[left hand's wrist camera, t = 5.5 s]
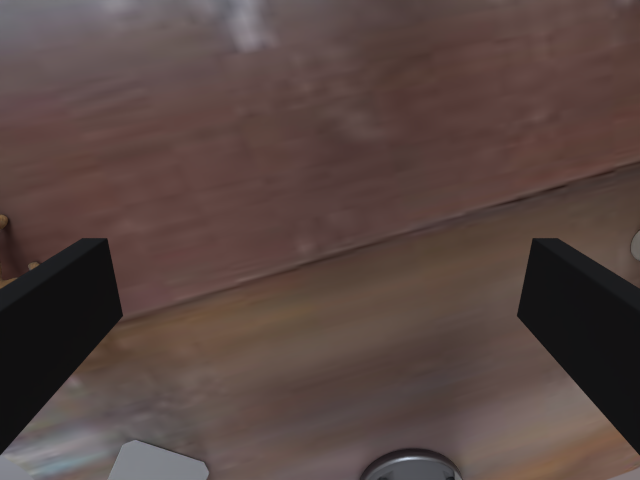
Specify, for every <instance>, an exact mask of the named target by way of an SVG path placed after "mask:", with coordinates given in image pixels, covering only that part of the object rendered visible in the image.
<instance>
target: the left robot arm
mask: <svg viewBox="0 0 640 480" xmlns="http://www.w3.org/2000/svg"><path fill="white" fill-rule="evenodd" d="M122 316H123V313H122V308H121V304H120V299H119V294H118V289H117V284H116V279H115V274H114V269H113V264H112V259H111V254H110V250H109V245H108V240H107V238H82V239H80V240H79V241H77V242H76V243H74V244H72V245H71V246H69V247H67V248H66V249H64V250H63V251H61V252H59V253H58V254H56V255H54V256H53V257H51V258H50V259H48V260H46V261H45V262H43V263H41V264H40V265H38V266H37V267H35V268H33V269H32V270H30V271H28V272H27V273H25V274H24V275H22V276H20V277H19V278H17V279H15V280H14V281H12V282H11V283H9V284H7V285H6V286H4V287H2V288H1V289H0V455H1V454H2V453H3V452H4V450H5V449H6V448H7V447H8V446H9V445H10V444H11V443H12V441H13V440H14V439H15V438H16V437H17V436H18V435H19V433H20V432H21V431H22V430H23V429H24V428H25V427H26V425H27V424H28V423H29V422H30V421H31V420H32V419H33V418H34V416H35V415H36V414H37V413H38V412H39V411H40V410H41V408H42V407H43V406H44V405H45V404H46V403H47V402H48V401H49V399H50V398H51V397H52V396H53V395H54V394H55V393H56V391H57V390H58V389H59V388H60V387H61V386H62V385H63V383H64V382H65V381H66V380H67V379H68V378H69V377H70V376H71V374H72V373H73V372H74V371H75V370H76V369H77V368H78V366H79V365H80V364H81V363H82V362H83V361H84V360H85V359H86V357H87V356H88V355H89V354H90V353H91V352H92V351H93V349H94V348H95V347H96V346H97V345H98V344H99V343H100V341H101V340H102V339H103V338H104V337H105V336H106V335H107V334H108V332H109V331H110V330H111V329H112V328H113V327H114V326H115V324H116V323H117V322H118V321H119V320H120V319H121V318H122ZM517 316H518V318H519V319H520V320H521V321H522V322H523V323H524V324H525V326H526V327H527V328H528V329H529V330H530V331H531V332H532V334H533V335H534V336H535V337H536V338H537V339H538V340H539V341H540V343H541V344H542V345H543V346H544V347H545V348H546V349H547V351H548V352H549V353H550V354H551V355H552V356H553V357H554V359H555V360H556V361H557V362H558V363H559V364H560V365H561V366H562V368H563V369H564V370H565V371H566V372H567V373H568V374H569V376H570V377H571V378H572V379H573V380H574V381H575V382H576V383H577V385H578V386H579V387H580V388H581V389H582V390H583V391H584V393H585V394H586V395H587V396H588V397H589V398H590V399H591V401H592V402H593V403H594V404H595V405H596V406H597V407H598V408H599V410H600V411H601V412H602V413H603V414H604V415H605V416H606V418H607V419H608V420H609V421H610V422H611V423H612V424H613V426H614V427H615V428H616V429H617V430H618V431H619V432H620V433H621V435H622V436H623V437H624V438H625V439H626V440H627V441H628V443H629V444H630V445H631V446H632V447H633V448H634V449H635V450H636V452H637V453H638V454H639V455H640V289H639V288H638V287H636V286H634V285H633V284H631V283H629V282H628V281H626V280H625V279H623V278H621V277H620V276H618V275H616V274H615V273H613V272H612V271H610V270H608V269H607V268H605V267H603V266H602V265H600V264H599V263H597V262H595V261H594V260H592V259H590V258H589V257H587V256H586V255H584V254H582V253H581V252H579V251H577V250H576V249H574V248H573V247H571V246H569V245H568V244H566V243H564V242H563V241H561V240H560V239H558V238H533V240H532V245H531V250H530V254H529V259H528V264H527V269H526V274H525V279H524V284H523V289H522V294H521V299H520V304H519V308H518V313H517ZM360 480H462V477H461V474H460V472H459V470H458V468H457V467H456V466H455V464H454V463H453V462H452V461H451V460H449V459H448V458H446V457H445V456H443V455H441V454H439V453H436V452H433V451H429V450H423V449H406V450H400V451H395V452H392V453H389V454H387V455H384V456H382V457H380V458H379V459H377V460H376V461H374V462H373V463H372V464H371V465H370V466H368V468H367V469H366V470H365V471H364V473H363V474H362V476H361V478H360Z"/></svg>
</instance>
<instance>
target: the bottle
mask: <svg viewBox="0 0 640 480" xmlns="http://www.w3.org/2000/svg"><path fill="white" fill-rule="evenodd" d="M631 253H632V255H633V256H634V258H636V259H637V260H639V261H640V230H639V231H638V232H637V234H636V235H635V236H634V238H633V240H632V243H631Z"/></svg>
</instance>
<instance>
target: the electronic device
mask: <svg viewBox="0 0 640 480" xmlns="http://www.w3.org/2000/svg"><path fill="white" fill-rule="evenodd" d="M208 475H209V471H208V469H207V467H206V465H205V463H204V462H202V461H199V460H195V459H192V458H189V457H186V456H183V455H180V454H177V453H174V452H171V451H168V450H165V449H162V448H159V447H156V446H153V445H150V444H146V443H143V442H140V441H137V440H133V441H131V442H128V443H126V444H123V445H122V447H121V450H120V452H119V454H118V457H117V459H116V461H115V464H114V466H113V468H112V471H111V473H110V475H109V478H108V480H206V479H207V477H208Z"/></svg>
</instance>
